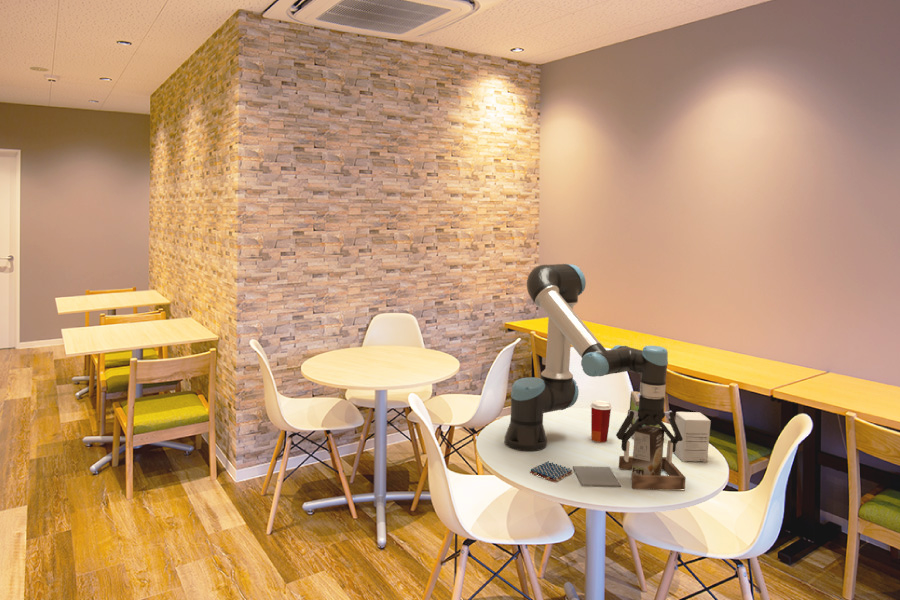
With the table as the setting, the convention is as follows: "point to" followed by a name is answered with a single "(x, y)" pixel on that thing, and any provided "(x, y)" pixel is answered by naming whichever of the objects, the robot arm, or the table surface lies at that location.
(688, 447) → the supplement box
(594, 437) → the paper cup
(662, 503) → the table surface
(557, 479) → the woven mat
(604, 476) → the slate mat
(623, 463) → the frame
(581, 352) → the robot arm
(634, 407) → the tea box
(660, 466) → the coffee box
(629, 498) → the table surface
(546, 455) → the table surface
